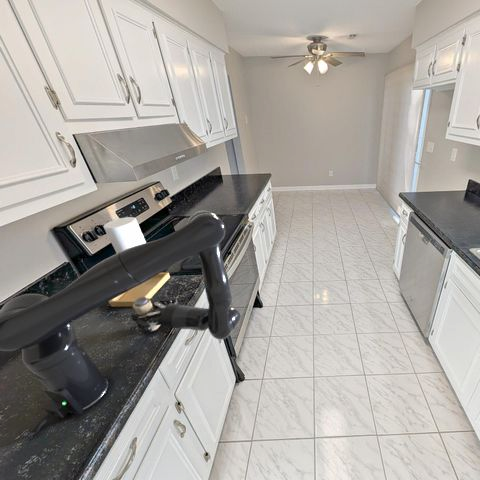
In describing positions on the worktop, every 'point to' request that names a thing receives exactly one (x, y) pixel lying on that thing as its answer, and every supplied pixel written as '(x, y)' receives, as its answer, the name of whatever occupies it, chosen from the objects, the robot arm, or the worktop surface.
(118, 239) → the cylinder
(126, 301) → the tray
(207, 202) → the worktop surface
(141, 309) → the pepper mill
